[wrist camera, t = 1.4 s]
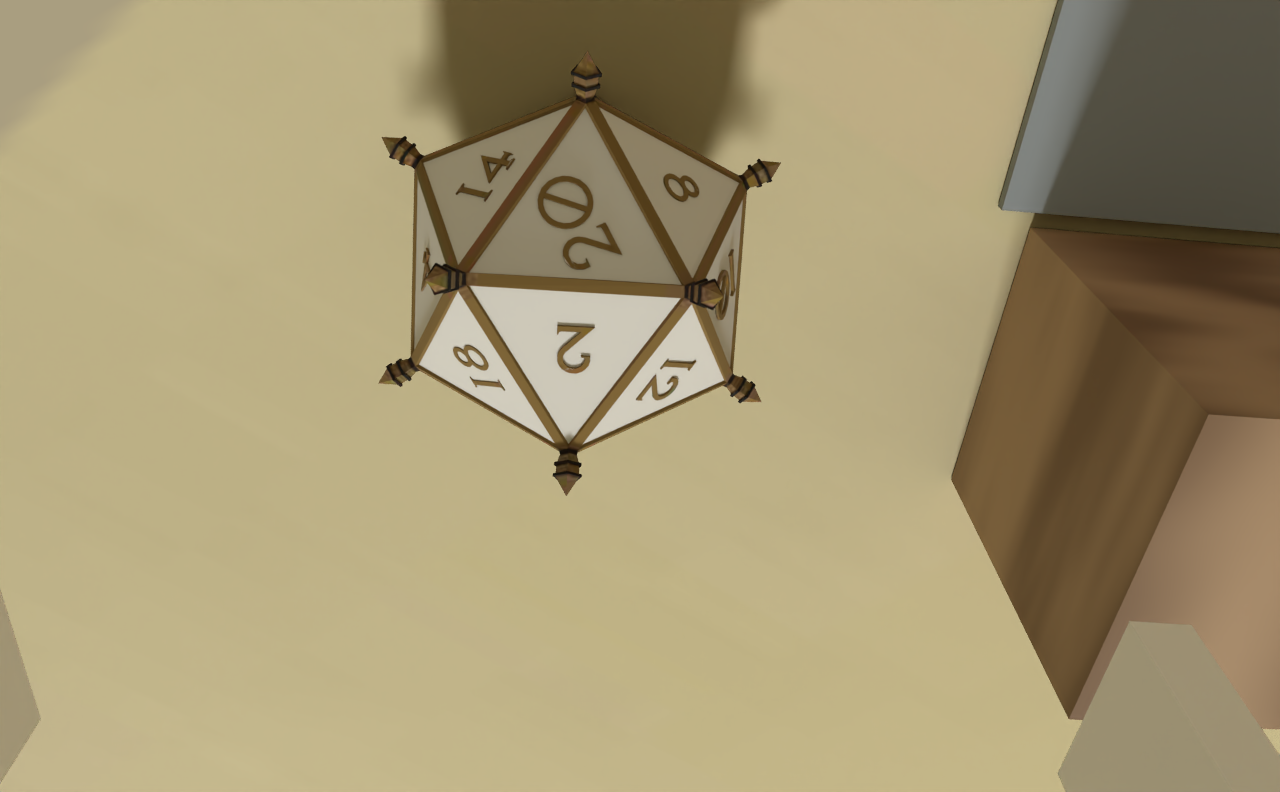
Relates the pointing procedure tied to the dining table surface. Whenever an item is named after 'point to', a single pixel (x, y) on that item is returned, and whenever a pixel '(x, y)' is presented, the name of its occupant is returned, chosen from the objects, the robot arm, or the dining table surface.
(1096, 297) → the cardboard box
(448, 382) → the game die
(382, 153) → the dining table surface
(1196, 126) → the mat
